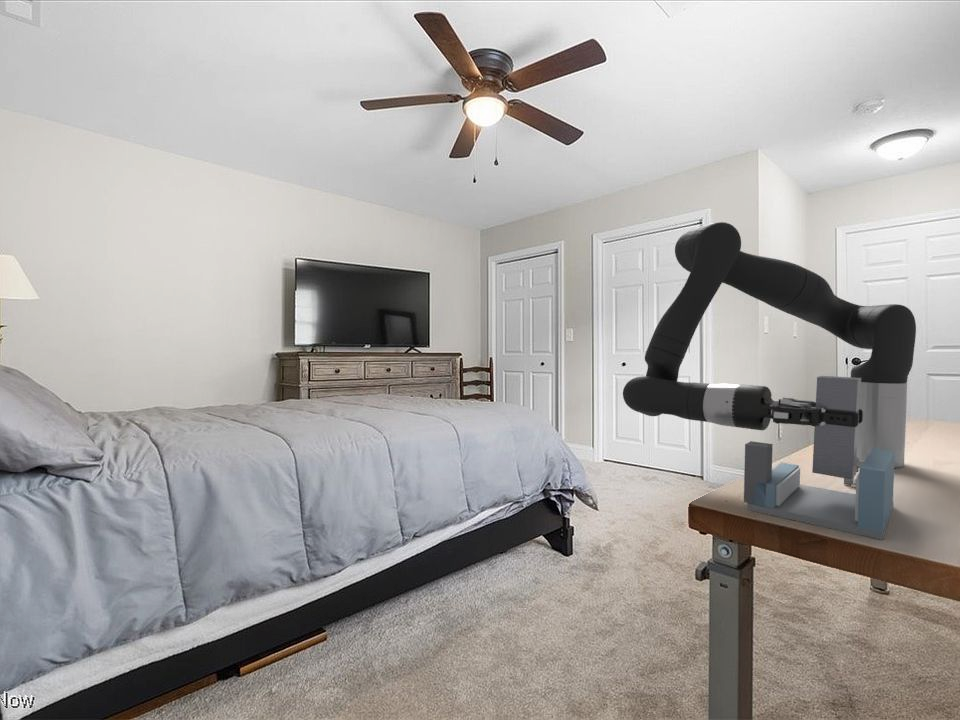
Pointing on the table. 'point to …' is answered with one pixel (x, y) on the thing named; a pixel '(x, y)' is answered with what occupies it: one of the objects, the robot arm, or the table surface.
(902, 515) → the table surface
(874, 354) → the robot arm
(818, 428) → the steel block
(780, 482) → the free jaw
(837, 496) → the vise base
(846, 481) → the caliper
